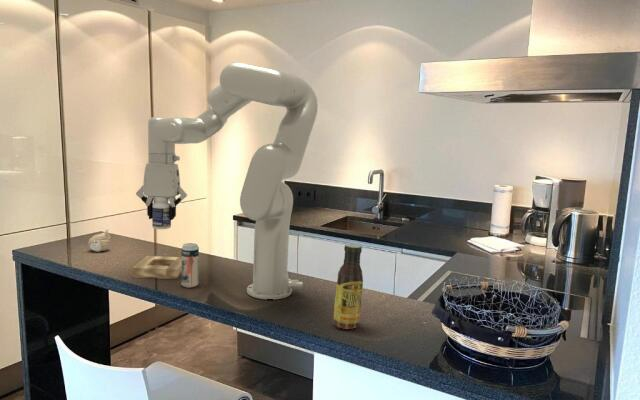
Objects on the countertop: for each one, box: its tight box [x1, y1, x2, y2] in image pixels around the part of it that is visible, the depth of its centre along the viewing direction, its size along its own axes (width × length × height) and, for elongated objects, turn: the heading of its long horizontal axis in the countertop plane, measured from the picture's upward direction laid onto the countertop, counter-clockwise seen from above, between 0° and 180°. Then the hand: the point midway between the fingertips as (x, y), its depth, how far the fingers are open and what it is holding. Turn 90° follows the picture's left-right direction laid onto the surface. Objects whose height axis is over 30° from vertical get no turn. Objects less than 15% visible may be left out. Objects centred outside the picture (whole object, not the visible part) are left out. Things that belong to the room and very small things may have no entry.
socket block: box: [131, 255, 182, 280], centre depth 146 cm, size 13×13×3 cm
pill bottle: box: [151, 197, 172, 230], centre depth 143 cm, size 5×5×10 cm
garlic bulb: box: [87, 228, 111, 253], centre depth 165 cm, size 7×6×8 cm
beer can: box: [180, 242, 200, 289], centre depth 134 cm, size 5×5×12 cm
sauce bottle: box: [333, 243, 364, 330], centre depth 112 cm, size 7×6×20 cm
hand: (161, 218), depth 144 cm, fingers closed on pill bottle, 5 cm apart
